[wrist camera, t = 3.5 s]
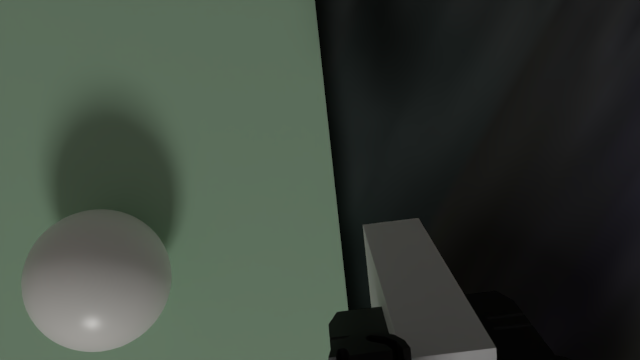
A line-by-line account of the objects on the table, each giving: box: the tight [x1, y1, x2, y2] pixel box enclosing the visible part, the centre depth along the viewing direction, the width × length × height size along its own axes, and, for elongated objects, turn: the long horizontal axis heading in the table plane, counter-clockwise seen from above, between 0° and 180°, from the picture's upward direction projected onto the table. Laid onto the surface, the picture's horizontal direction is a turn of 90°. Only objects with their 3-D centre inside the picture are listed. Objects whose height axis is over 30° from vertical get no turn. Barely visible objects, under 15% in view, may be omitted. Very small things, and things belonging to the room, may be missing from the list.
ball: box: [21, 209, 172, 352], centre depth 17 cm, size 4×4×4 cm
